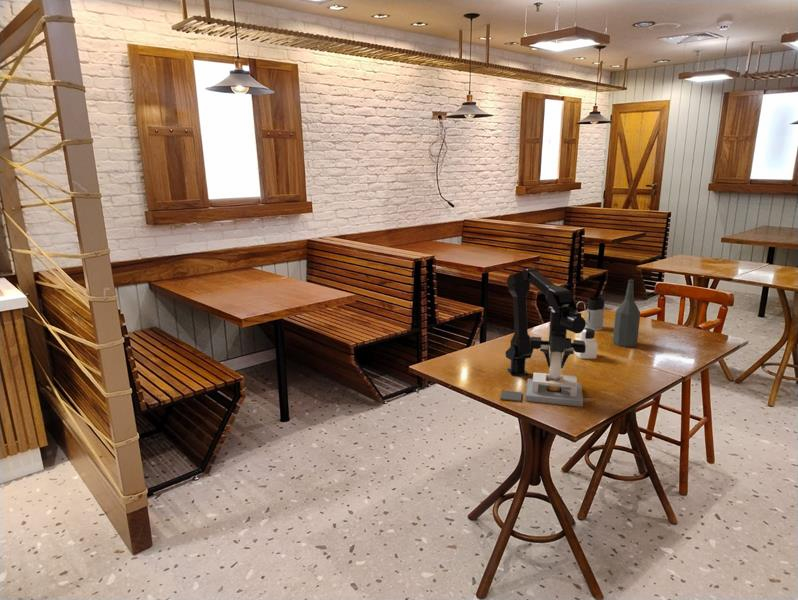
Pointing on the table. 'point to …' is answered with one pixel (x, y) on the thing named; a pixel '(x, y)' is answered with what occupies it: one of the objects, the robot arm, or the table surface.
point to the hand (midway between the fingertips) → (555, 367)
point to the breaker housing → (568, 389)
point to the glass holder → (595, 313)
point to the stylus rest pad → (511, 396)
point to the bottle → (627, 320)
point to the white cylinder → (555, 366)
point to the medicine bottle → (588, 344)
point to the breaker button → (553, 388)
